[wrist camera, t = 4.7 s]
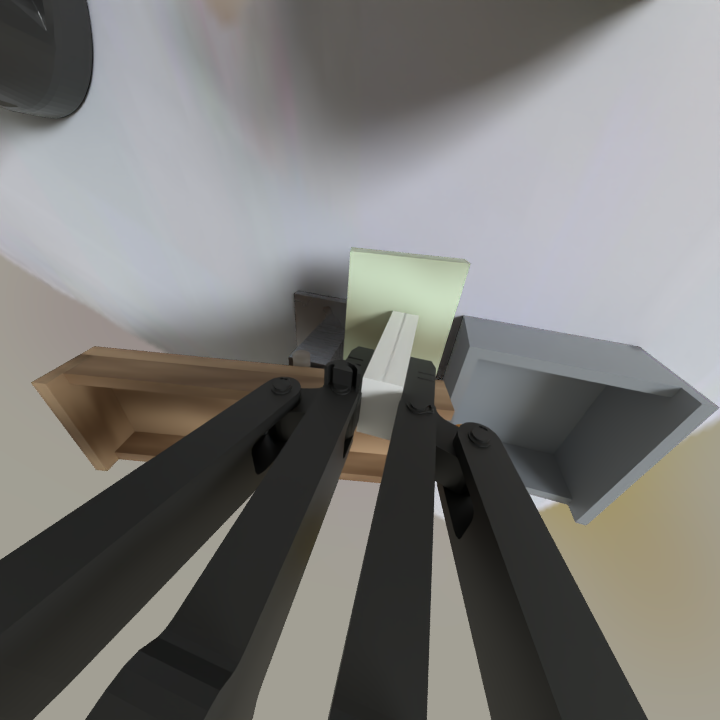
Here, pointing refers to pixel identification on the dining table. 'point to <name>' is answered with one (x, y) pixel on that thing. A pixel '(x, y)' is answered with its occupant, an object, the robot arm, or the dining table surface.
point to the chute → (249, 369)
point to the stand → (320, 327)
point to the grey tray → (570, 408)
